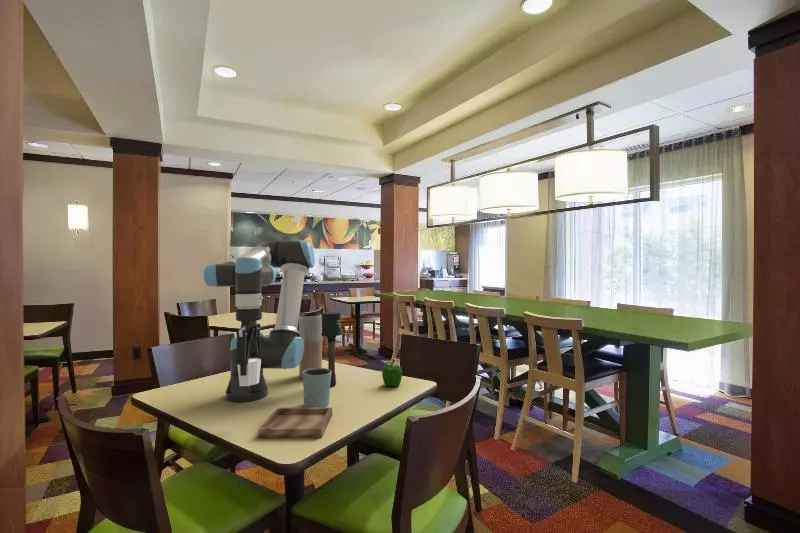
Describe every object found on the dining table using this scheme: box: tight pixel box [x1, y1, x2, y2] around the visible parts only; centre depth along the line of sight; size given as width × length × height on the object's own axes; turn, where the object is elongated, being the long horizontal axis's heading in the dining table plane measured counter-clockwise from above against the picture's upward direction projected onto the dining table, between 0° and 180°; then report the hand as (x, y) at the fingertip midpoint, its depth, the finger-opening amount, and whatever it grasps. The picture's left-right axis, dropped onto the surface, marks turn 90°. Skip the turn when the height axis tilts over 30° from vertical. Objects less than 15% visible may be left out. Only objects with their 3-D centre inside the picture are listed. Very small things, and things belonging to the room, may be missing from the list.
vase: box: [298, 312, 323, 379], centre depth 183 cm, size 10×10×28 cm
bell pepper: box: [381, 360, 403, 388], centre depth 168 cm, size 8×8×10 cm
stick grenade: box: [321, 311, 343, 388], centre depth 168 cm, size 8×9×30 cm
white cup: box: [238, 358, 261, 385], centre depth 125 cm, size 7×7×7 cm
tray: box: [257, 407, 333, 439], centre depth 125 cm, size 18×18×2 cm
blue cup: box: [302, 367, 332, 408], centre depth 144 cm, size 10×10×12 cm
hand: (249, 381), depth 125 cm, fingers closed on white cup, 7 cm apart
